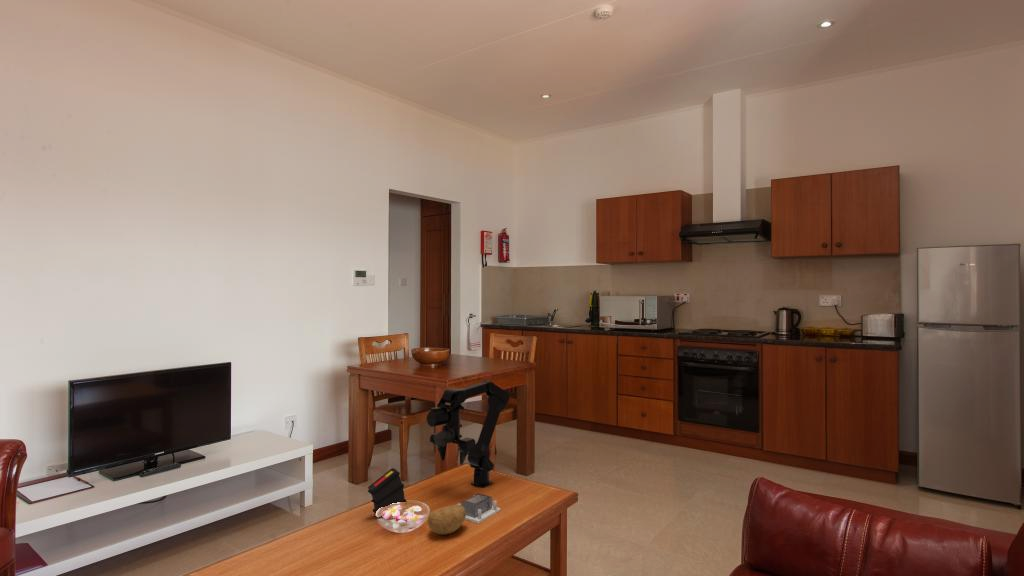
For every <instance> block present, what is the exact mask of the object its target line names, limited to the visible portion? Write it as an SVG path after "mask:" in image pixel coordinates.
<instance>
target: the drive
mask: <svg viewBox="0 0 1024 576" xmlns="http://www.w3.org/2000/svg"><path fill="white" fill-rule="evenodd" d="M474 495H475V496H473V495H472V496H471V497H469V498H467V499H465V500H463V501H461V506H463V507H464V508H465V511H466V515H467V516H470V517H474V518H476V517H477V516H478V509H481V514H483V513H484V512H486V511H488V510H490V509H491V508H492V506H493V496H490V495H486V494H483V493H476V494H474Z"/></svg>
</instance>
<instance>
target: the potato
mask: <svg viewBox="0 0 1024 576" xmlns="http://www.w3.org/2000/svg"><path fill="white" fill-rule="evenodd" d="M465 517H466V511H465V508H464V507H463V506H461V505H457V504H452V505H448V506H444V507H441V508H438V509H435V510H433V511H432V512H429V515H428V517H427V525H428V527H429V529H430V530H431V531H432V532H433V533H435V534H438V535H442V536H443V535H450V534H453V533H455V532H456V531H457V530H458V529H460V527H461V526H462V525H463V523H464V521H466V520H465Z"/></svg>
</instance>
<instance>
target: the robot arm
mask: <svg viewBox="0 0 1024 576" xmlns="http://www.w3.org/2000/svg"><path fill="white" fill-rule="evenodd" d="M481 394H485V395H486V396H487V398H488V399H487V404H488V410H487V413H486V416H485V419H484V422H483V425H482V427H481V430H480V434H479V436H478V439H477V442H476V439H474V438H471V437H464V438H463V434H461V432H460V431H461V428H463V424H462V423H461V411H462V410H465V407H464V406H463V403H465V402H466V400H467V399H470V398H472V397H476V396H479V395H481ZM509 401H510V394H509V391H507V390H504V389H503V388H501V387H500V386H498V385H496V384H495V383H494V382H493V381H491V380H490V381H489V380H483V381H481V382H478V383H475V384H471V385H468V386H465V387H461V388H460V387H459V388H447V389H445V390H444V391H443V393H442V396H441V398H440V400H439V402H438V403H437V405H436V407H430V408H429V412H427V415H426V422H427V425H428V426H429V427H430V428H431V427H432V428H433V427H437V426H442V429H441V430H440V431H438V432H435V433H431V435H430V436H429V443H431V444H432V445H434V446H435V448H437V451H438V453H439V457H440V459H441V461H442V462H443V461H445V459H446V453H447V444H450V443H451V444H456V445H458V448H457V450H458V452H459V465H460V466H463V464H464V462H465V461H466V458H467V461H468V463H469V466H470V468H473V469H474V470H473V481H472V482H470V485H473V486H475V487H476V486H477V487H480V488H485V487H487V486H489V485H491V484H493V481H491V480H490V472H491V471H493V470H494V467H495V464H494V463H493V462H492V461H491V460H490V457H491V453H490V452H491V451H490V443H491V441H492V437H493V434H494V432H495V429H496V426H497V424H498V419H499V416H500V414H501V413H502V411H503V410H504V409H505V408H506V407H507V405H508V403H509Z"/></svg>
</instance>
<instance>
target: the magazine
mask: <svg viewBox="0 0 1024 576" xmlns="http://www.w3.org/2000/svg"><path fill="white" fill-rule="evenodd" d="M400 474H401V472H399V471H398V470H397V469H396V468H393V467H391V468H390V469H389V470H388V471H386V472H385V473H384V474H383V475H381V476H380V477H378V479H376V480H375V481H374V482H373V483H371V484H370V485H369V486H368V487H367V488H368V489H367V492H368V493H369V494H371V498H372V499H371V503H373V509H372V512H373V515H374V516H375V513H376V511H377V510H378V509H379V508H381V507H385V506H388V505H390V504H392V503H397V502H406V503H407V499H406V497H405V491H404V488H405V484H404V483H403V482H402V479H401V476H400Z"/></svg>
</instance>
